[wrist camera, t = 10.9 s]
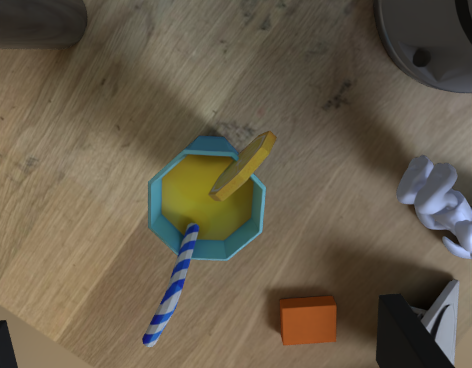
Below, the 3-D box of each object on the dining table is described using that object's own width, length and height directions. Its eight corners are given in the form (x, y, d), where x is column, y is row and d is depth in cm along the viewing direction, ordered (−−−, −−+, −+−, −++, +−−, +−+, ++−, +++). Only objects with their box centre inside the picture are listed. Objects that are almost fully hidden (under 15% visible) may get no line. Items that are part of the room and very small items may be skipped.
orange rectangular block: (332, 295, 41) (336, 304, 39) (331, 331, 42) (336, 341, 41) (279, 298, 41) (282, 308, 39) (280, 334, 42) (283, 345, 41)
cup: (212, 258, 39) (207, 377, 25) (132, 224, 38) (79, 329, 24) (283, 119, 36) (325, 166, 22) (198, 78, 35) (182, 97, 20)
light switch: (427, 338, 33) (465, 281, 40) (367, 317, 36) (412, 267, 43) (423, 439, 36) (459, 369, 43) (368, 411, 39) (410, 350, 46)
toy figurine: (414, 142, 37) (507, 205, 40) (372, 205, 38) (466, 262, 41) (472, 159, 30) (576, 232, 34) (419, 235, 31) (526, 299, 35)
